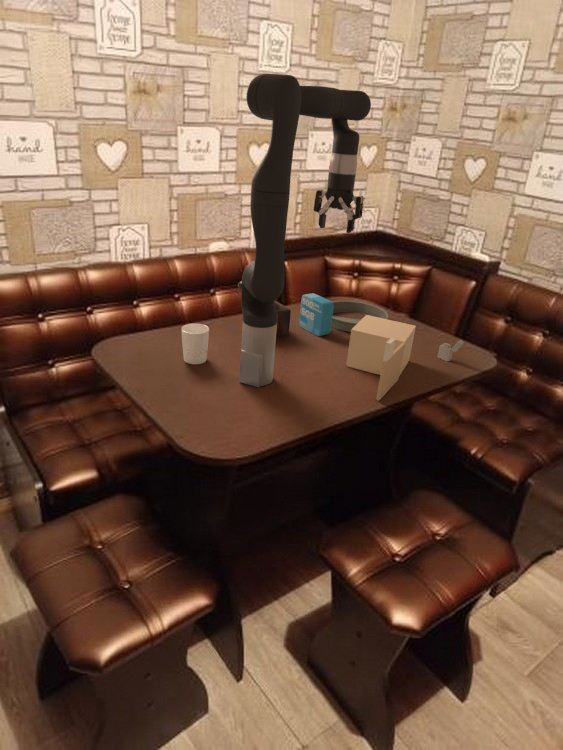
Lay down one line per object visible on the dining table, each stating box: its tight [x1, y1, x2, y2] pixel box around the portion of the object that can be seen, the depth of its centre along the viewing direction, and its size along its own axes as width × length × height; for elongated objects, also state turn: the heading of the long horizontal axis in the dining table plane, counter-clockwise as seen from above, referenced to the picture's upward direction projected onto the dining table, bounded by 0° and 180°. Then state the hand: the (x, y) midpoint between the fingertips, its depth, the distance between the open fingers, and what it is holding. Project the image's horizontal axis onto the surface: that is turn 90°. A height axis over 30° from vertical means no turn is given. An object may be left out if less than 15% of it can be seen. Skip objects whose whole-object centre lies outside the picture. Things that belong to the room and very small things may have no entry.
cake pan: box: [331, 300, 390, 333], centre depth 198 cm, size 25×25×4 cm
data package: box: [298, 292, 334, 337], centre depth 186 cm, size 12×4×12 cm, turn 37°
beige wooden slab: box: [375, 338, 405, 401], centre depth 148 cm, size 1×16×17 cm, turn 150°
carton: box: [345, 315, 417, 377], centre depth 165 cm, size 15×16×12 cm
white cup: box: [181, 323, 210, 365], centre depth 158 cm, size 8×8×10 cm
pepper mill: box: [237, 280, 292, 339], centre depth 178 cm, size 16×11×18 cm
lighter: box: [437, 339, 465, 362], centre depth 172 cm, size 7×2×8 cm, turn 43°
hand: (335, 230), depth 157 cm, fingers open, 8 cm apart
